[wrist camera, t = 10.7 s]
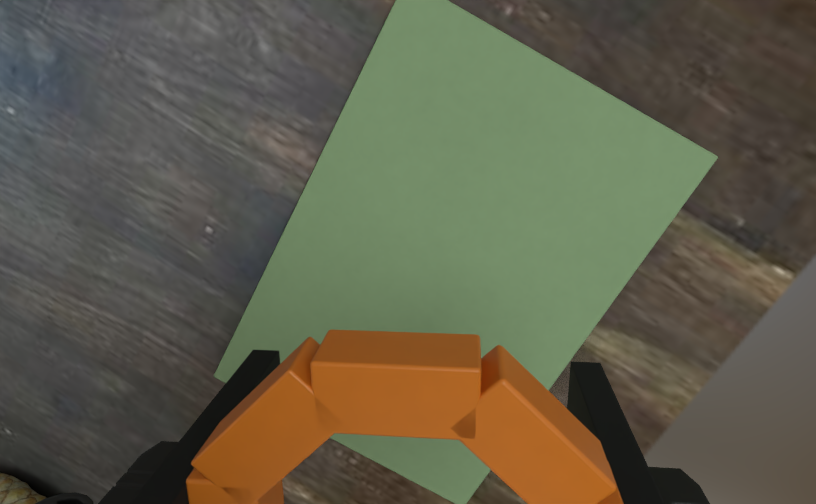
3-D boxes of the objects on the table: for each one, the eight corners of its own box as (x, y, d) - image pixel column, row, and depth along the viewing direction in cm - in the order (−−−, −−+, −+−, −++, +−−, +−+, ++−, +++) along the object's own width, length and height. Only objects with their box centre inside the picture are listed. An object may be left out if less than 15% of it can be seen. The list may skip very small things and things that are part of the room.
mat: (408, -22, 22) (406, -24, 22) (713, 155, 23) (718, 156, 22) (217, 371, 28) (213, 376, 28) (463, 501, 29) (463, 508, 28)
